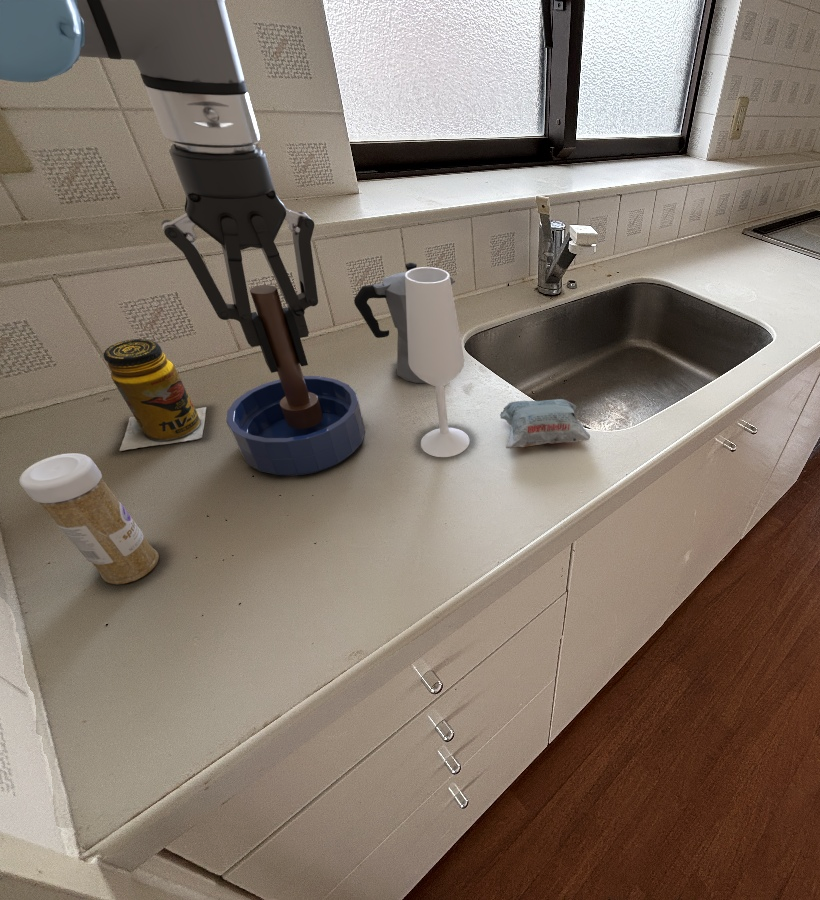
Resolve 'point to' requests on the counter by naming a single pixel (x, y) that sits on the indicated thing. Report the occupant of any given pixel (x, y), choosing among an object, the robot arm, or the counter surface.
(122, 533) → the sprinkles bottle
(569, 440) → the packaged food
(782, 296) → the counter surface
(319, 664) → the counter surface
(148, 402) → the condiment
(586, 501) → the counter surface
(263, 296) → the muddler
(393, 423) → the counter surface
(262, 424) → the bowl
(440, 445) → the champagne flute
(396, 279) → the coffeepot
